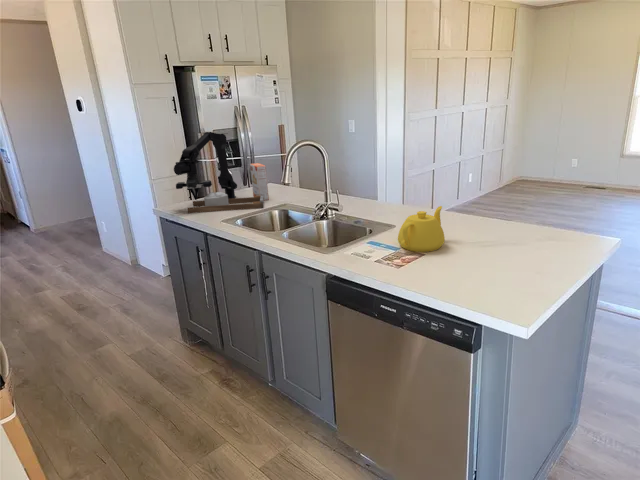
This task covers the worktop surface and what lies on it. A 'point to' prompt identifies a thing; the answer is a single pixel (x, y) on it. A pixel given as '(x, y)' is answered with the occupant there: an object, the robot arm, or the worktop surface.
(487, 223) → the worktop surface
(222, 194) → the lumpy-topped squat cylinder
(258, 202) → the guide rails
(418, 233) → the teapot
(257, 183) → the cracker box
